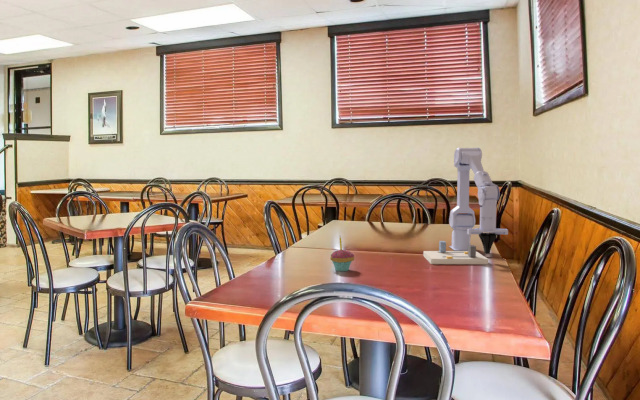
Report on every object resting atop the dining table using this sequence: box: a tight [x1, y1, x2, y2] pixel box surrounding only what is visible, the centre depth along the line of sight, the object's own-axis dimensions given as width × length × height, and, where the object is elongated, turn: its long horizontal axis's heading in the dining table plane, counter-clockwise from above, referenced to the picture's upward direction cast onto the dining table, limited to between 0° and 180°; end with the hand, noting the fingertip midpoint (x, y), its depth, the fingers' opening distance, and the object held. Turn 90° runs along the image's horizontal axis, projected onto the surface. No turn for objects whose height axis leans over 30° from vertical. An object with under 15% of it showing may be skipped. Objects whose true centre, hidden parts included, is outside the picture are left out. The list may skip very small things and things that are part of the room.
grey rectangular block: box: [438, 240, 447, 252], centre depth 183 cm, size 3×2×4 cm, turn 178°
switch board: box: [422, 250, 489, 265], centre depth 178 cm, size 15×21×3 cm
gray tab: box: [468, 244, 477, 257], centre depth 174 cm, size 3×2×4 cm, turn 178°
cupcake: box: [330, 236, 356, 272], centre depth 162 cm, size 9×8×12 cm
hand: (486, 253), depth 174 cm, fingers closed
